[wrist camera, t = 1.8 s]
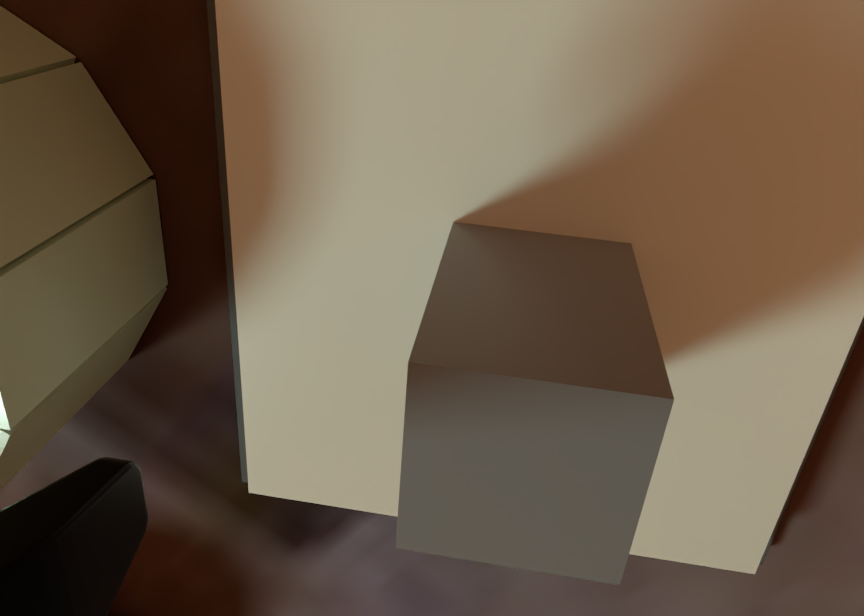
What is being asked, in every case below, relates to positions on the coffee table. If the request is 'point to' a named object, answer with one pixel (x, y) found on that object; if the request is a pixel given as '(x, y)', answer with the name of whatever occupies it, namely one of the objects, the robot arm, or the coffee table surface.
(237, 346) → the gray square plate
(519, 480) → the lid
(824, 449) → the coffee table surface
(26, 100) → the bowl
